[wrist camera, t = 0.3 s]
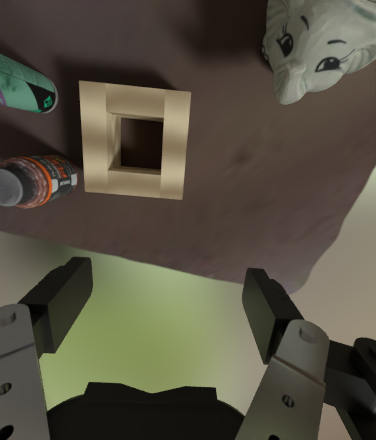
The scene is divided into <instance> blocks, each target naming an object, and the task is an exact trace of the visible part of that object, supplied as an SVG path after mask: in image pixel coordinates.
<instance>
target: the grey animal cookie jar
mask: <svg viewBox="0 0 376 440" xmlns="http://www.w3.org/2000/svg"><path fill="white" fill-rule="evenodd" d="M262 53H263V55H264V57H265V59H266V60H267V61H268V62H269V63H270V65H271V67H272V70H273V72H274V82H273V88H274V94H275V97H276V99H277V100H278V101H279V102H280V103H281V104H284V105H287V104H291V103H293V102H296V101H298V100H299V99H301V98H302V96H303V95H304V94H305V93H306V92H317V91H322V90H325V89H327V88H329V87H331V86H332V85H334V84H335V83H336V82H337V81H338V80H339V79H340V78H341V77H342V75H343V74H348V73H352V72H355V71H357V70H359V69H361V68H363V67H365V66H367V65H368V64H369V63H371V62H372V61H373V60H375V59H376V0H269V1H268V7H267V23H266V34H265V36H264V39H263V44H262Z"/></svg>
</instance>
